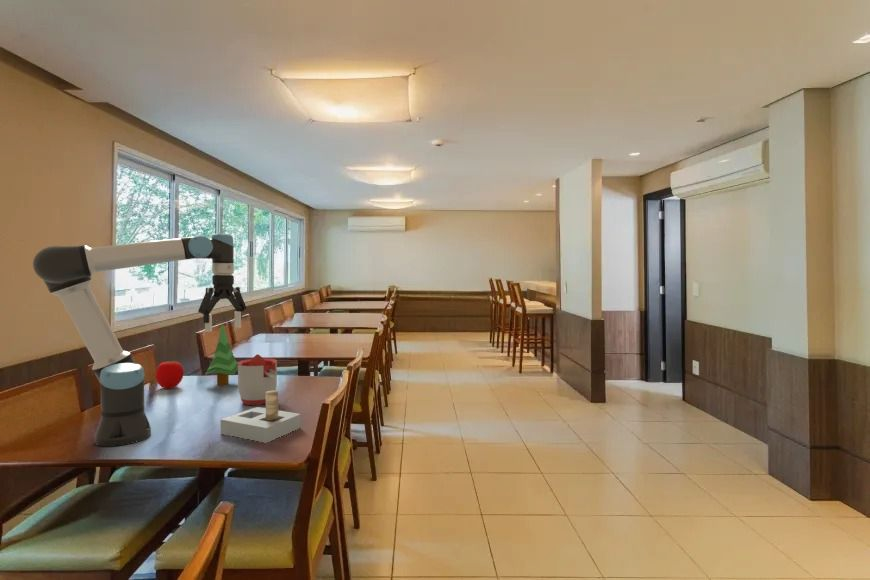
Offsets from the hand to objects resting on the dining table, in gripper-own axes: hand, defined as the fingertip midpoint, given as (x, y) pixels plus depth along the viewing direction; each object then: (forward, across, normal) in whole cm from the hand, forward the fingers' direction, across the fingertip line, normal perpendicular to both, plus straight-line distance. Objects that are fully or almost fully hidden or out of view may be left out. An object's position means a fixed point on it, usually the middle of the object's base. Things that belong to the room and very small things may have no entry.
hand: (223, 329), depth 178 cm
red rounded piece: (+32, +15, +52) cm, 63 cm away
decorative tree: (+32, +30, +35) cm, 56 cm away
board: (+32, -11, -30) cm, 45 cm away
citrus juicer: (+32, +15, -3) cm, 35 cm away
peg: (+32, -11, -35) cm, 48 cm away
